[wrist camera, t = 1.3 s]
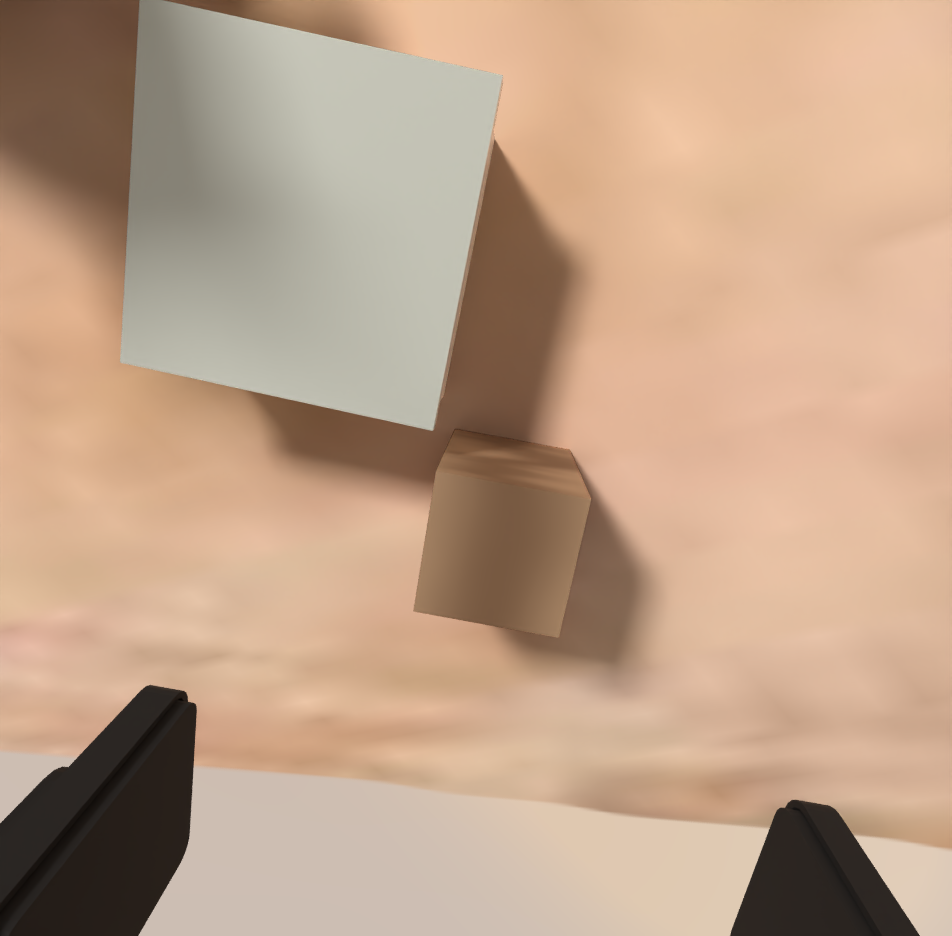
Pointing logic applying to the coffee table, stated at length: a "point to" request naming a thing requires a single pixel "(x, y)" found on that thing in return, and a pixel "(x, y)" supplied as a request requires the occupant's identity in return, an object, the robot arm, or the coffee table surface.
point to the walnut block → (502, 534)
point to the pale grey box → (301, 212)
